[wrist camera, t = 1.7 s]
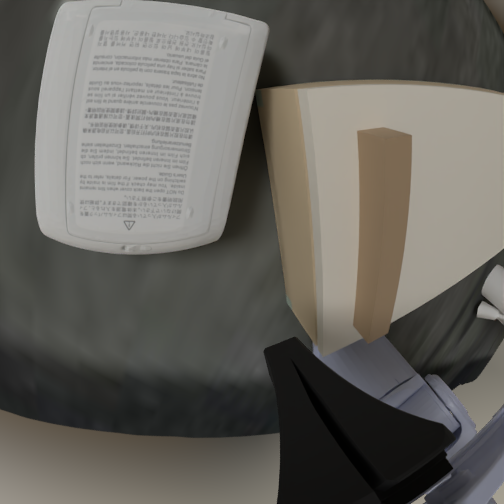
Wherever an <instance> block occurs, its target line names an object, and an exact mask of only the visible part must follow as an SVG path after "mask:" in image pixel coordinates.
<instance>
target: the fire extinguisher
mask: <svg viewBox="0 0 504 504" xmlns="http://www.w3.org/2000/svg"><path fill="white" fill-rule="evenodd" d="M482 295H483V296H484V297H485V298H486V299H488V300H489V301H490V302H491V303H492V304H493V305H495V306H496V307H497V308H498V309H499V310H500V311H501V312H502V313H504V268H503V267H502V266H500V265H496V267H495V268H494V269H493V270H492V271H491V273H490V274H489V276H488V277H487V279H486V281H485V283H484V286H483V288H482ZM498 309H496V308H494V307H493V306H491V305H489V304H487V303H486V302H484V301H482V302H481V304H480V306H479V307H478V312H477V317H480V318H485V319H491V320H495V319H497V318H498V319H500V320H503V321H504V315H503V314H501V313H499V310H498Z"/></svg>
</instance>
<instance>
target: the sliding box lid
mask: <svg viewBox="0 0 504 504" xmlns="http://www.w3.org/2000/svg"><path fill="white" fill-rule="evenodd" d="M297 91H298V97H299V104H300V111H301V119H302V126H303V134H304V143H305V151H306V160H307V170H308V179H309V190H310V201H311V213H312V226H313V240H314V256H315V275H316V300H317V343H318V350H319V352H320V354H321V355H322V357H324V356H327V355H329V354H331V353H333V352H335V351H337V350H339V349H342V348H344V347H346V346H348V345H350V344H352V343H354V342H356V341H358V340H360V339H362V338H364V340H365V341H366V342H367V343H368V344H369V343H371V342H373V341H375V340H376V339H378V338H380V337H382V336H384V335H386V334H387V333H388V331H389V327H390V323H392V322H394V321H395V320H397V319H399V318H401V317H402V316H404V315H406V314H408V313H409V312H411V311H413V310H414V309H416V308H418V307H419V306H421V305H423V304H424V303H426V302H428V301H429V300H431V299H432V298H434V297H436V296H437V295H439V294H440V293H442V292H443V291H445V290H446V289H448V288H450V287H451V286H453V285H454V284H456V283H457V282H458V281H460V280H461V279H463V278H464V277H466V276H467V275H469V274H470V273H471V272H473V271H474V270H476V269H477V268H478V267H480V266H481V265H482V264H484V263H485V262H487V261H488V260H489V259H491V258H492V257H493V256H494V255H496V254H497V253H498V252H500V251H501V250H502V249H503V248H504V95H501V94H496V93H490V92H484V91H478V90H471V89H463V88H454V87H444V86H432V85H414V84H355V85H336V86H323V87H312V88H303V89H297Z"/></svg>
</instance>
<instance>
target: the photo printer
mask: <svg viewBox="0 0 504 504" xmlns="http://www.w3.org/2000/svg"><path fill="white" fill-rule="evenodd" d="M268 36H269V27H268V25H267V24H266V23H264V22H262V21H258V20H254V19H250V18H247V17H244V16H240V15H236V14H232V13H227V12H223V11H218V10H213V9H208V8H202V7H197V6H190V5H183V4H175V3H166V2H156V1H142V0H86V1H71V2H66V3H64V4H63V5H62V6H61V7H60V9H59V11H58V13H57V16H56V19H55V22H54V26H53V29H52V33H51V37H50V41H49V45H48V50H47V55H46V60H45V65H44V71H43V76H42V82H41V89H40V95H39V104H38V113H37V125H36V141H35V196H36V213H37V219H38V223H39V226H40V229H41V231H42V233H43V234H44V235H46V236H48V237H50V238H52V239H54V240H57V241H59V242H62V243H64V244H68V245H71V246H74V247H78V248H82V249H86V250H91V251H97V252H104V253H113V254H157V253H167V252H174V251H180V250H186V249H190V248H194V247H198V246H202V245H206V244H209V243H212V242H214V241H217V240H218V239H219V238H220V237H221V235H222V233H223V230H224V227H225V224H226V220H227V216H228V211H229V208H230V204H231V199H232V194H233V190H234V185H235V180H236V175H237V170H238V165H239V161H240V156H241V151H242V147H243V142H244V137H245V133H246V129H247V124H248V120H249V115H250V111H251V106H252V102H253V98H254V93H255V89H256V85H257V81H258V77H259V73H260V68H261V64H262V60H263V56H264V52H265V48H266V44H267V40H268Z"/></svg>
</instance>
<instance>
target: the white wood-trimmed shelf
mask: <svg viewBox="0 0 504 504" xmlns="http://www.w3.org/2000/svg"><path fill="white" fill-rule="evenodd" d="M493 307H494V308H496V309H498V308H497V307H496V306H495V305H494V306H493ZM498 310H499V309H498ZM499 313H501V314H503V315H504V313H502V312H501V311H500V310H499ZM497 319H498V318H497ZM495 320H496V319H495ZM498 320H499V321H500V322H501V323H502V324H503V325H504V321H503V320H500V319H498Z"/></svg>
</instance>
